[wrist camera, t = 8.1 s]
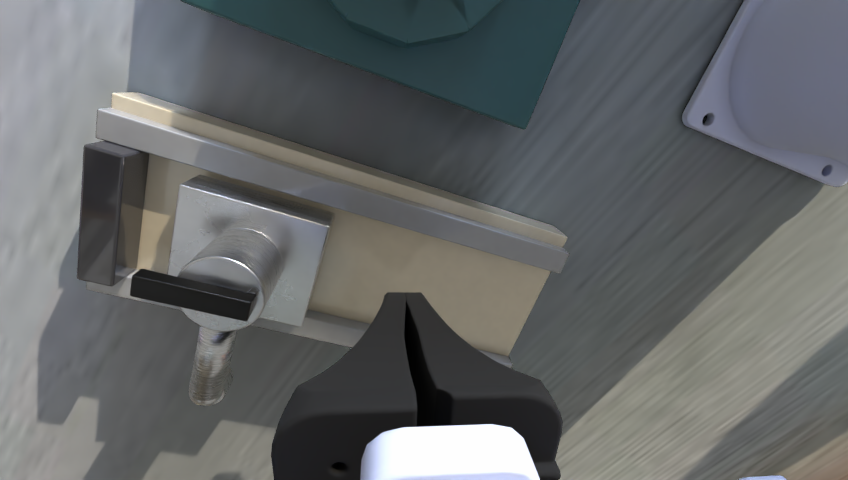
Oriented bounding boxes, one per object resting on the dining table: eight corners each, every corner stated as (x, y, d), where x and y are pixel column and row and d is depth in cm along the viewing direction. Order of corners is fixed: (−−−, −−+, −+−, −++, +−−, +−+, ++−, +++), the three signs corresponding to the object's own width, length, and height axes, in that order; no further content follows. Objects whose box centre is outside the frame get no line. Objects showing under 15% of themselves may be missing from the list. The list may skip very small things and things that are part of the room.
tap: (335, 212, 15) (317, 261, 11) (294, 358, 18) (267, 443, 13) (199, 173, 14) (124, 210, 10) (174, 333, 17) (105, 418, 12)
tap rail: (554, 225, 18) (586, 252, 16) (489, 360, 21) (506, 403, 18) (136, 91, 15) (77, 93, 12) (119, 275, 17) (67, 313, 14)
